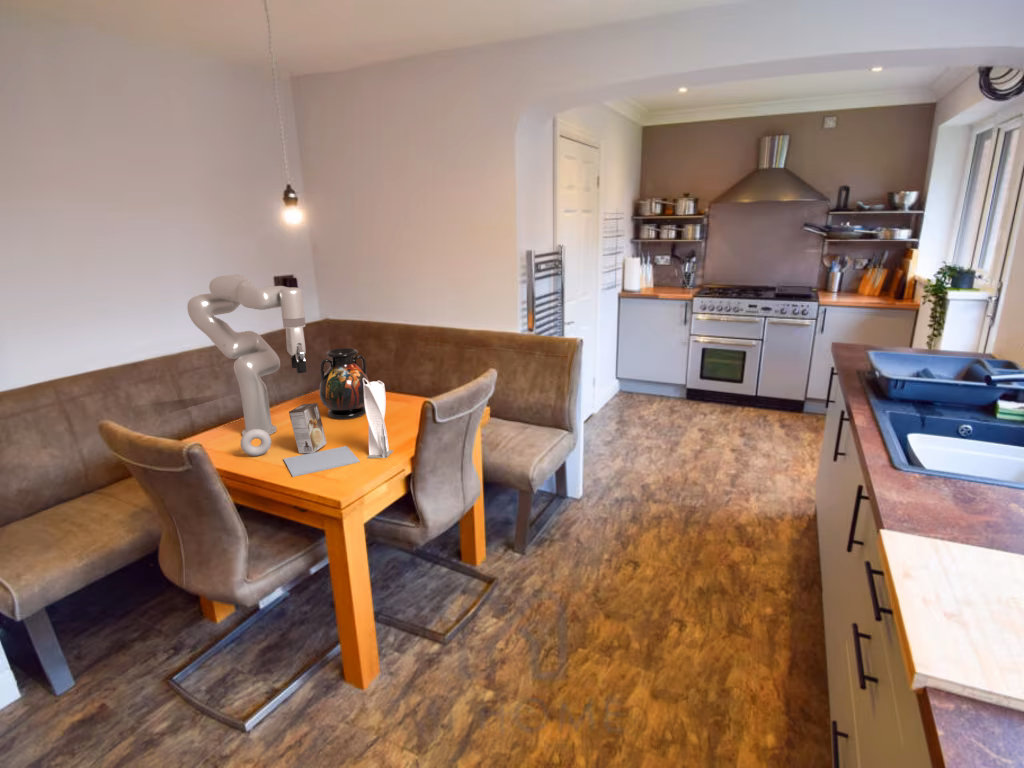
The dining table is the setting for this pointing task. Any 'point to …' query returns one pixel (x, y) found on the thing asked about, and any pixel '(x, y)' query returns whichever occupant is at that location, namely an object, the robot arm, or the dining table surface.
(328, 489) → the dining table surface
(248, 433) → the donut
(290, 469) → the mat
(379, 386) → the skyscraper
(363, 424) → the dining table surface
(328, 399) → the amphora vase
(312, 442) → the coffee box
